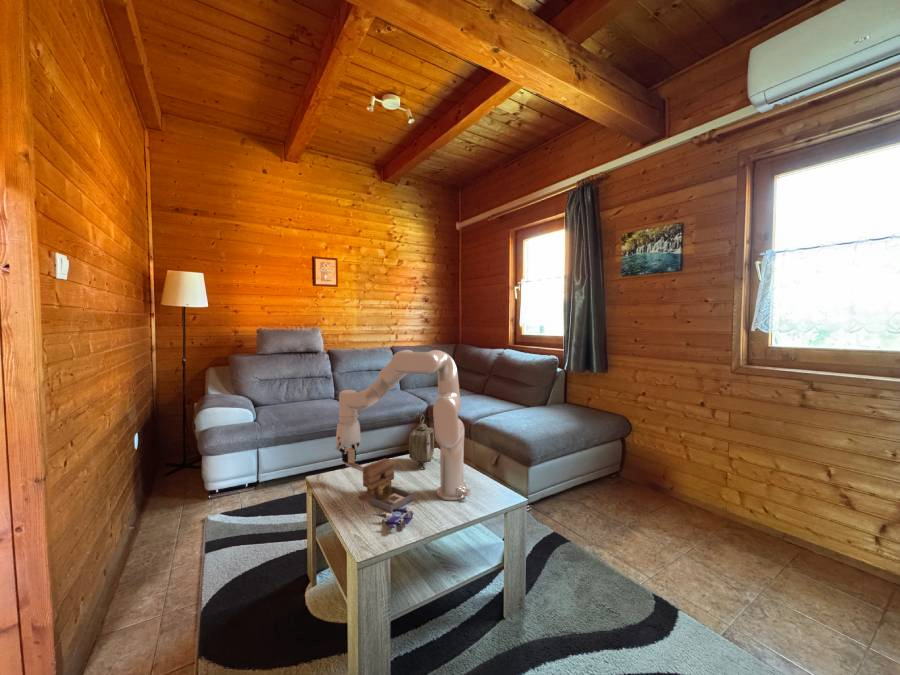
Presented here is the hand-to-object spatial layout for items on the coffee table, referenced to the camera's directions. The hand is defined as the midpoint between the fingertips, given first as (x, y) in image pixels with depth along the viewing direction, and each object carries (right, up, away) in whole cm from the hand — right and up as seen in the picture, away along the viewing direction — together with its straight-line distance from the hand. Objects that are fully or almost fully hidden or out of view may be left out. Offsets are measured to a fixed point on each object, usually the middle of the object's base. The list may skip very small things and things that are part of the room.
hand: (349, 460), depth 159 cm
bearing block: (+14, -11, -10) cm, 20 cm away
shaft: (+7, -3, -5) cm, 10 cm away
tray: (+21, -11, -15) cm, 28 cm away
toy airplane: (+24, -12, -30) cm, 41 cm away
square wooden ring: (+20, -10, -15) cm, 26 cm away
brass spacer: (+18, -11, -13) cm, 24 cm away
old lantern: (+30, -10, +22) cm, 38 cm away
